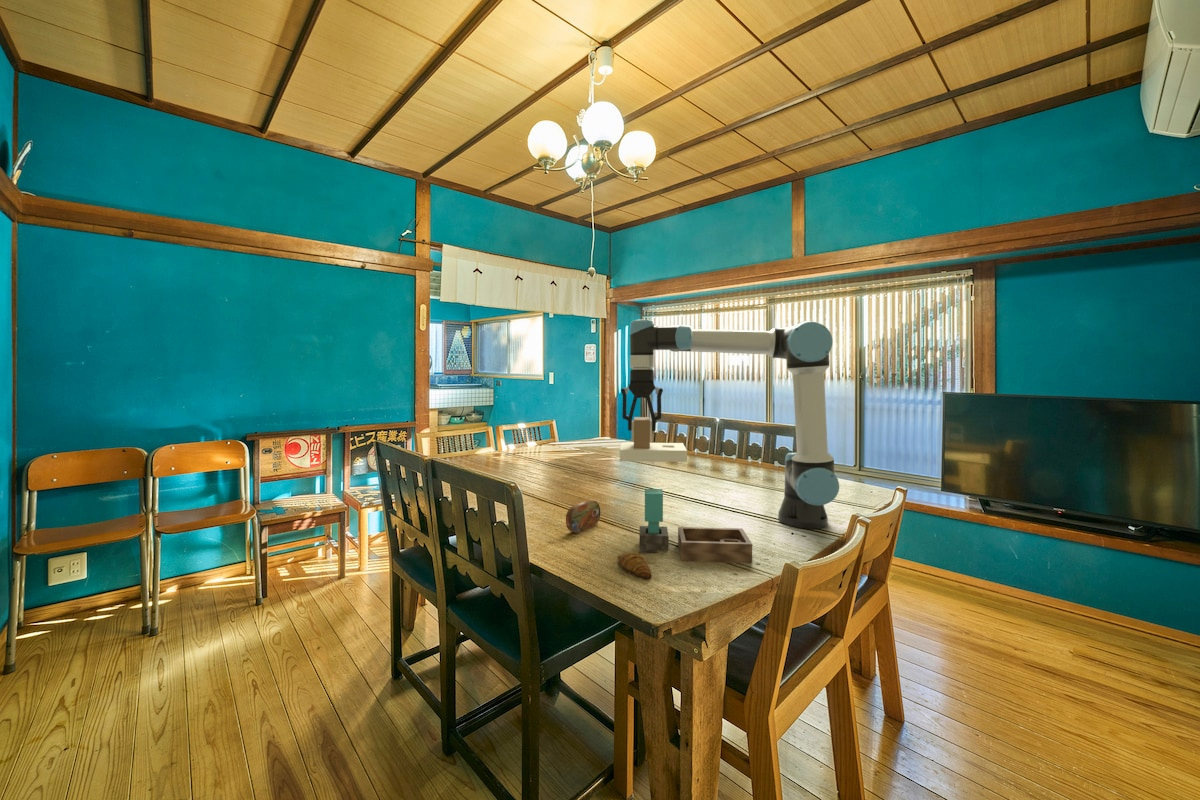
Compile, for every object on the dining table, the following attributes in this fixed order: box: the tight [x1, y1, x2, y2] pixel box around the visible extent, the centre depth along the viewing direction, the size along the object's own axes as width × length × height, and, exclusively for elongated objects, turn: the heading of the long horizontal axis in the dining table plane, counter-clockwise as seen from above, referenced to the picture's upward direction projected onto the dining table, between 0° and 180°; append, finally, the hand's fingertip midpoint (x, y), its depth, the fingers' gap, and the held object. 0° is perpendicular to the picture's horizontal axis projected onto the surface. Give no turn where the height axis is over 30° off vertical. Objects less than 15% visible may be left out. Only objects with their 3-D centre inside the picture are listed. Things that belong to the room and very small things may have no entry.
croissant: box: [617, 552, 653, 581], centre depth 121 cm, size 14×7×5 cm, turn 30°
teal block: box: [644, 488, 664, 534], centre depth 136 cm, size 5×5×16 cm
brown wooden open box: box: [677, 526, 753, 564], centre depth 130 cm, size 18×12×6 cm, turn 85°
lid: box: [619, 416, 688, 463], centre depth 154 cm, size 21×15×12 cm
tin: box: [565, 500, 601, 534], centre depth 153 cm, size 15×3×8 cm, turn 143°
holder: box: [638, 525, 670, 555], centre depth 136 cm, size 8×8×5 cm
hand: (641, 440), depth 154 cm, fingers closed on lid, 5 cm apart
